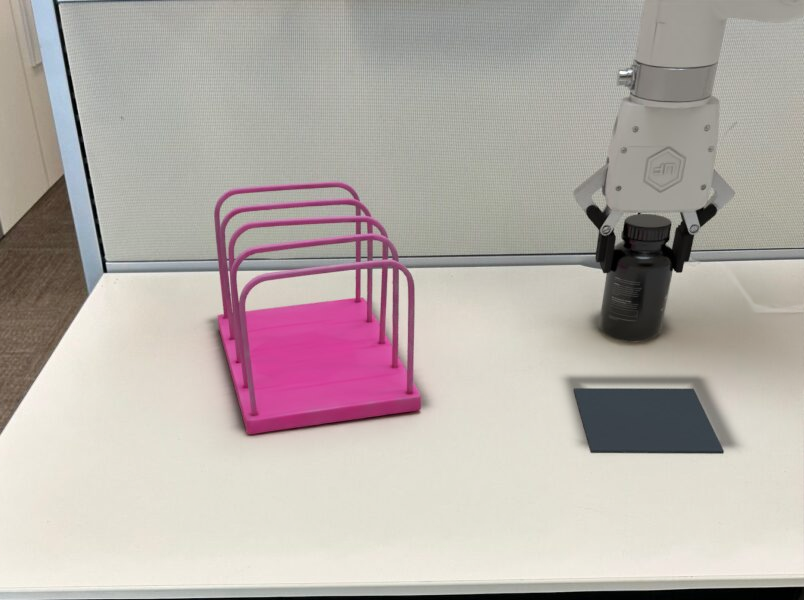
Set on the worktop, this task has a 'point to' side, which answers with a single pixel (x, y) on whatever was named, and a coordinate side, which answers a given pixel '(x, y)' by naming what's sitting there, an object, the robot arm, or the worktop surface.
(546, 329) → the worktop surface
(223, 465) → the worktop surface
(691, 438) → the mat
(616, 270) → the supplement bottle
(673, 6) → the robot arm
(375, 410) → the file sorter
